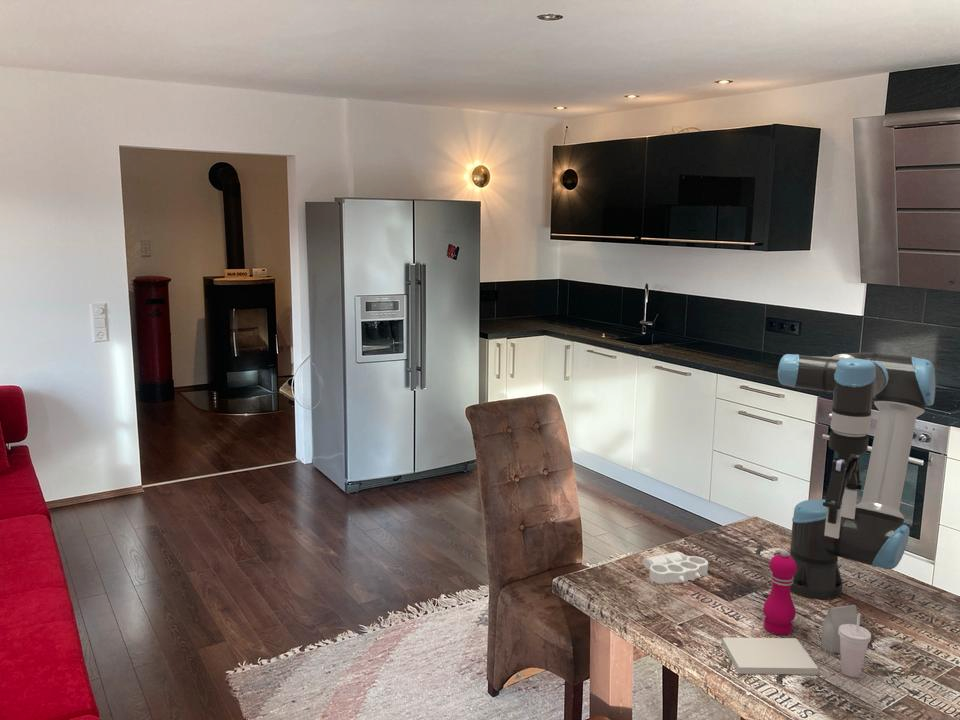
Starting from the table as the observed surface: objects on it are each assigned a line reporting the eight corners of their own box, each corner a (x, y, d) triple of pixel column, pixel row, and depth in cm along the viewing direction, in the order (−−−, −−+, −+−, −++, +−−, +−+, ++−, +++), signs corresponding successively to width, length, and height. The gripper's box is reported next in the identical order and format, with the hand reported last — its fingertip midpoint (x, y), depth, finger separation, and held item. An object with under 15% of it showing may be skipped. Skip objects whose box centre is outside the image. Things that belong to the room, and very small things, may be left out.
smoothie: (853, 684, 164) (860, 622, 161) (827, 668, 170) (833, 609, 167) (873, 676, 167) (880, 615, 164) (847, 661, 173) (853, 602, 170)
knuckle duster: (684, 557, 225) (718, 579, 212) (632, 568, 218) (664, 591, 205) (684, 546, 224) (719, 567, 211) (632, 557, 217) (665, 579, 204)
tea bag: (857, 649, 177) (861, 609, 175) (831, 653, 176) (835, 612, 174) (845, 641, 181) (850, 601, 179) (820, 644, 179) (824, 604, 177)
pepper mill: (796, 638, 182) (804, 557, 178) (764, 634, 183) (770, 554, 180) (791, 622, 189) (797, 545, 185) (759, 619, 190) (765, 542, 187)
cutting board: (795, 644, 179) (796, 638, 179) (817, 674, 167) (818, 668, 167) (721, 643, 179) (722, 637, 179) (738, 673, 167) (739, 667, 167)
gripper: (845, 417, 177) (836, 506, 181) (814, 441, 157) (805, 540, 161) (881, 423, 172) (871, 513, 176) (854, 448, 153) (843, 550, 157)
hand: (839, 526), depth 169 cm, fingers open, 13 cm apart
